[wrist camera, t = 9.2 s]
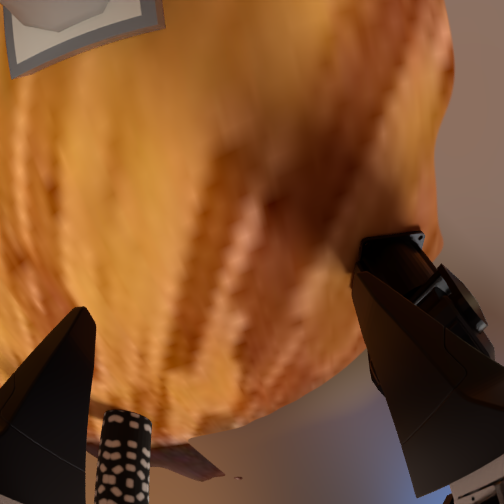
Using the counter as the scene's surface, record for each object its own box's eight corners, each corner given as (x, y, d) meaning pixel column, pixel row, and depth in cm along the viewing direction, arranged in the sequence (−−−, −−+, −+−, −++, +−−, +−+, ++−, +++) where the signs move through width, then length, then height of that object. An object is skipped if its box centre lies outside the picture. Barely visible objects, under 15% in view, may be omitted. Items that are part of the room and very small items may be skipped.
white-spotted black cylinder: (142, 432, 46) (138, 531, 30) (99, 419, 43) (89, 522, 27) (159, 420, 43) (157, 534, 27) (110, 404, 39) (99, 524, 23)
